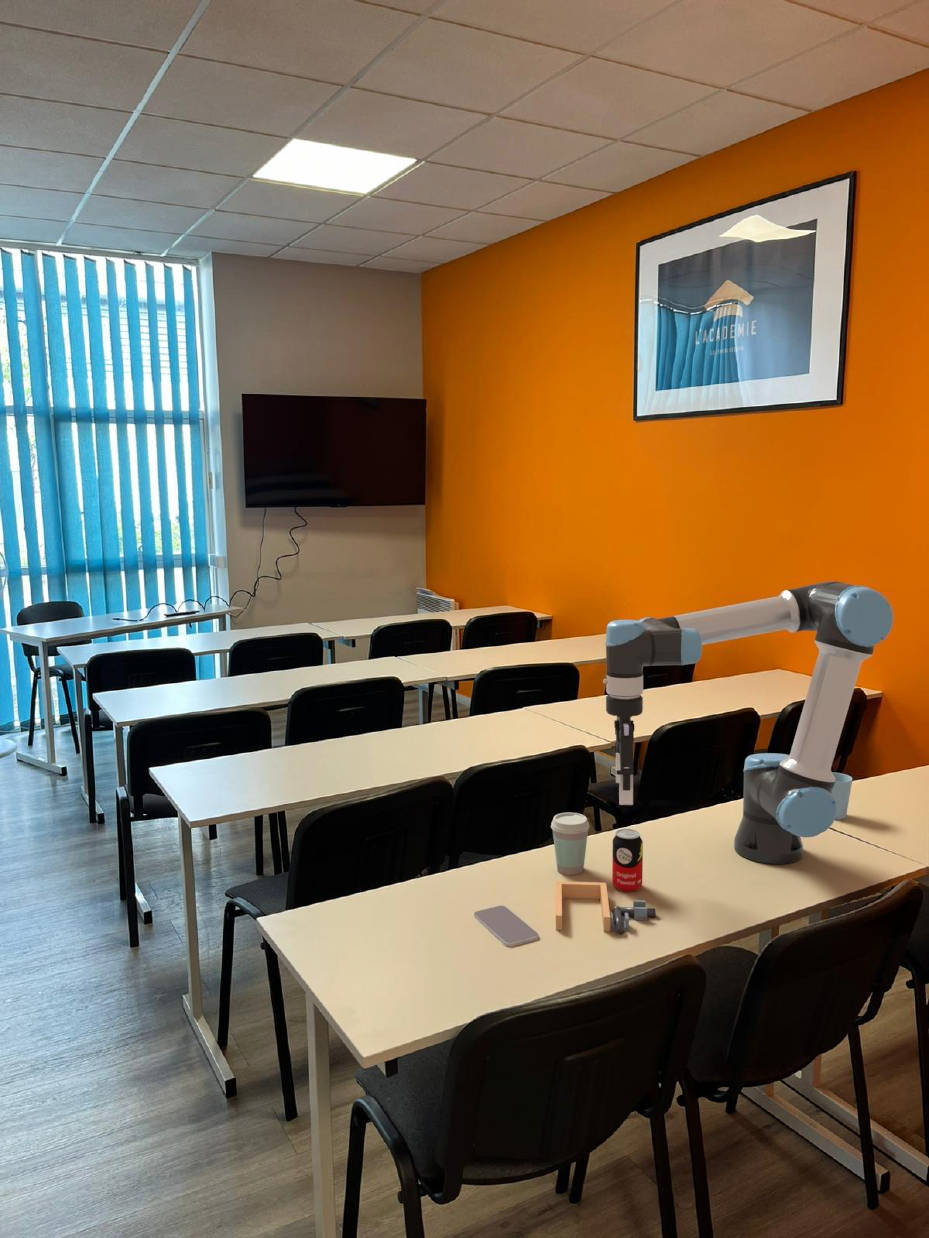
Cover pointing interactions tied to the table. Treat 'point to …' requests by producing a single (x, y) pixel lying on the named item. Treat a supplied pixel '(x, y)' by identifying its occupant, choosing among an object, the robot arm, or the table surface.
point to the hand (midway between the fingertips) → (624, 793)
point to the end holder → (582, 891)
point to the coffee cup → (570, 842)
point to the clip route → (637, 911)
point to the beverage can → (627, 860)
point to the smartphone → (506, 925)
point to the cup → (841, 794)
